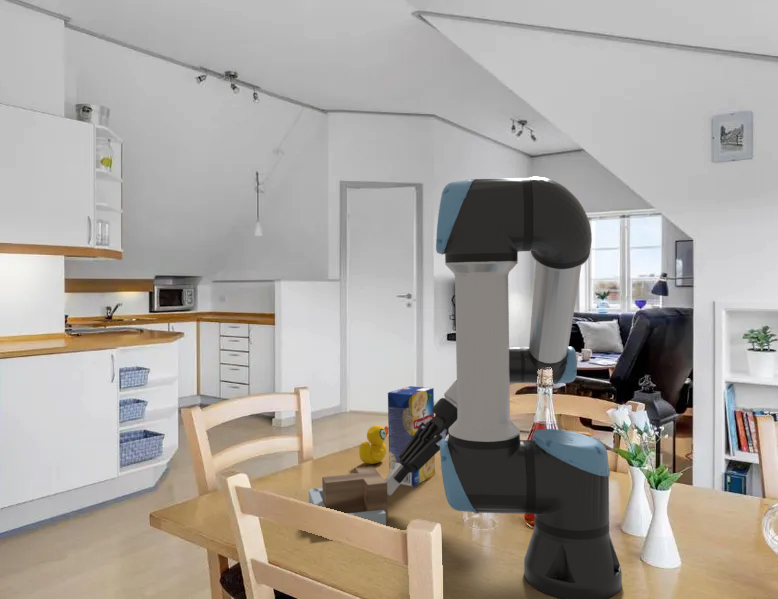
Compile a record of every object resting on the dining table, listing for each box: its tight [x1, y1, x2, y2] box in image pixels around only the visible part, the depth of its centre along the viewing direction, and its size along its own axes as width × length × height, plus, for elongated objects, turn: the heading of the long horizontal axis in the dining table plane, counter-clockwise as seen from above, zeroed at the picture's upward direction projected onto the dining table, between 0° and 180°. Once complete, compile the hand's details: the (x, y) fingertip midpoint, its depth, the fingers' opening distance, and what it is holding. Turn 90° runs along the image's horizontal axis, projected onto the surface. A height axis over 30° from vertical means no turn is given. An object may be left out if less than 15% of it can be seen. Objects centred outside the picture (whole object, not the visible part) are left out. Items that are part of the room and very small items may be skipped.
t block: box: [321, 466, 389, 523], centre depth 127 cm, size 12×12×8 cm
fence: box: [308, 487, 387, 526], centre depth 127 cm, size 19×13×3 cm
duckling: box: [358, 424, 389, 465], centre depth 165 cm, size 11×5×10 cm, turn 143°
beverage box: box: [387, 385, 436, 487], centre depth 151 cm, size 7×11×22 cm, turn 147°
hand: (384, 491), depth 130 cm, fingers closed
